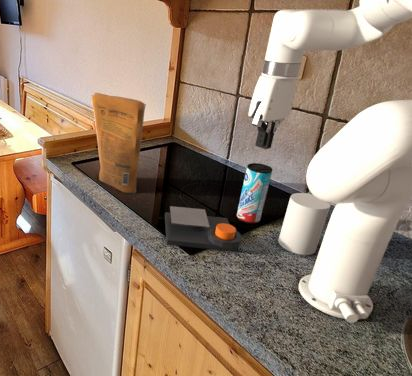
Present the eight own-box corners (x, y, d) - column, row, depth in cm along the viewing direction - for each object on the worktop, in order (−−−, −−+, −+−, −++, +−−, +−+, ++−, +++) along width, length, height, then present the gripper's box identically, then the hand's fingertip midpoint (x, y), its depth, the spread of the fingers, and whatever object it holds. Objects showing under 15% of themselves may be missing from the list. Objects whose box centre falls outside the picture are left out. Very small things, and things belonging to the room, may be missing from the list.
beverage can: (233, 213, 111) (244, 162, 105) (255, 214, 111) (268, 163, 104) (239, 224, 106) (251, 171, 99) (262, 225, 105) (276, 172, 99)
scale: (241, 255, 93) (244, 244, 91) (166, 247, 95) (168, 236, 94) (230, 223, 106) (232, 212, 105) (164, 216, 108) (165, 206, 107)
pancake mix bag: (129, 199, 117) (137, 103, 106) (86, 177, 131) (89, 90, 119) (144, 193, 121) (154, 100, 110) (101, 172, 135) (106, 88, 123)
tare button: (236, 241, 93) (237, 233, 92) (216, 239, 94) (217, 231, 93) (232, 231, 97) (234, 224, 96) (213, 229, 98) (215, 222, 97)
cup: (307, 237, 100) (320, 194, 95) (321, 256, 93) (337, 210, 88) (273, 235, 101) (285, 191, 96) (285, 253, 94) (298, 207, 89)
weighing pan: (209, 228, 98) (209, 226, 97) (171, 224, 99) (171, 222, 99) (204, 210, 106) (205, 209, 105) (169, 207, 107) (169, 206, 107)
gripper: (285, 65, 97) (268, 138, 105) (245, 69, 90) (229, 147, 98) (315, 70, 91) (295, 147, 99) (275, 74, 84) (256, 157, 92)
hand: (262, 147), depth 99 cm, fingers closed
